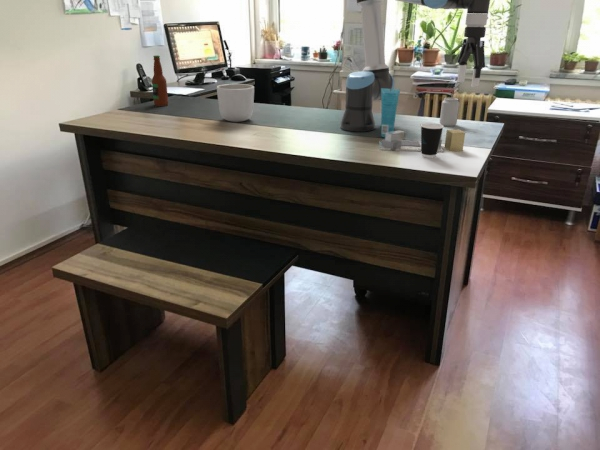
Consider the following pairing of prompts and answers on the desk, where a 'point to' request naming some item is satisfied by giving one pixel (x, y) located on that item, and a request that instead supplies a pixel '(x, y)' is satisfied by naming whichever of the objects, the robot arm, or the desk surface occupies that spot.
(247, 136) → the desk surface
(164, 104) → the bottle
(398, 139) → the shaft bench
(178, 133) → the desk surface
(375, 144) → the desk surface
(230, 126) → the desk surface
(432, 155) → the dixie cup
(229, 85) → the planter
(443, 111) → the can
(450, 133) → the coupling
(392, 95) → the tube
